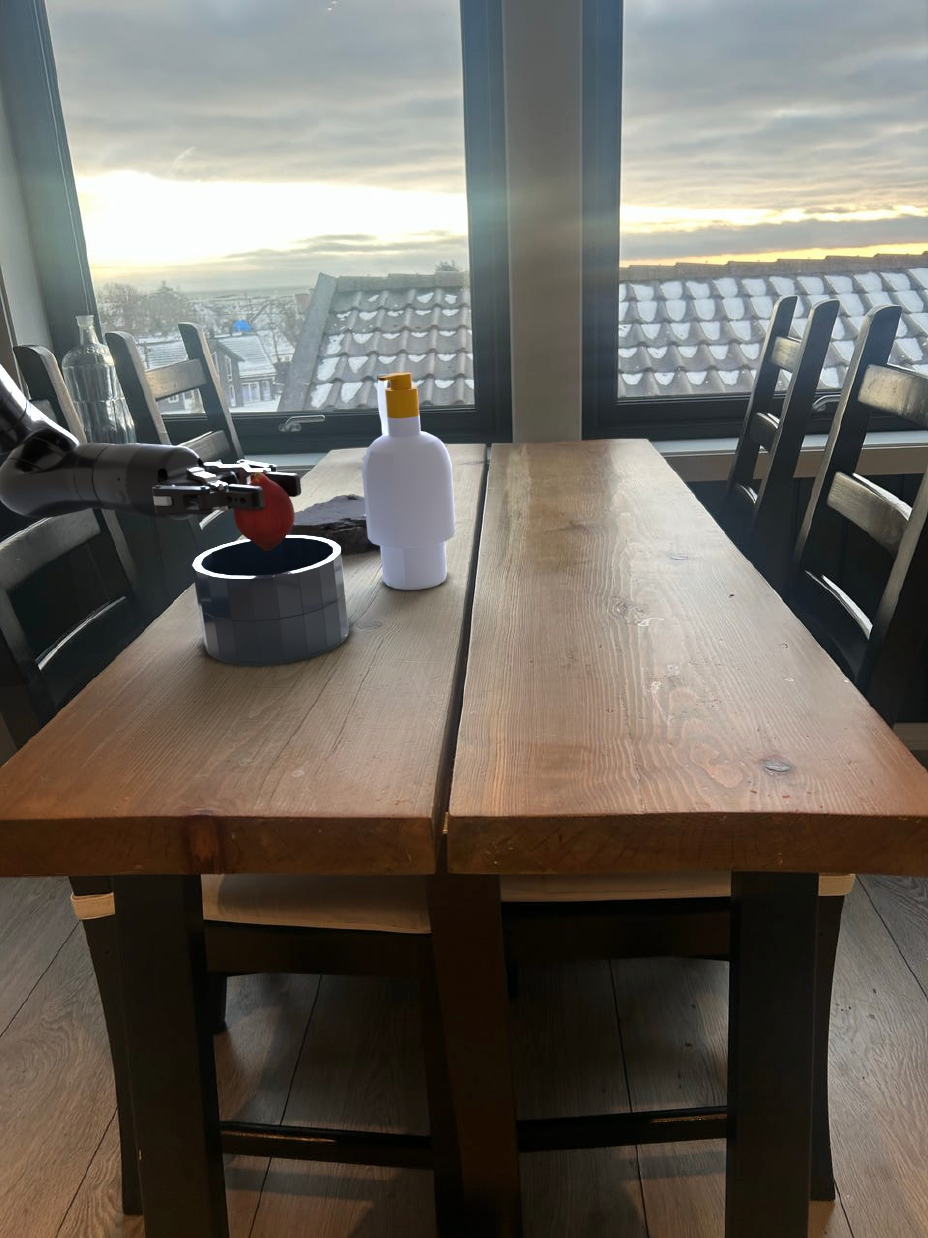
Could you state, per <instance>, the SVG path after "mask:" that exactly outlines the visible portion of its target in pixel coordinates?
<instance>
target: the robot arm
mask: <svg viewBox="0 0 928 1238" xmlns="http://www.w3.org/2000/svg"><path fill="white" fill-rule="evenodd" d="M9 452H11V453H10V454H9V455H8V457H7V458H6V459H5V461H4V462H3V463H2V465H0V502H1V503H2V504H3V505H4V506H6V508H8V509H9V510H11V511H12V512H15V513H16V514H18V515H22V516H25V517H29V518H33V519H50V518H56V517H61V516H65V515H70V514H75V513H78V512H83V511H86V510H90V509H97V510H106V511H107V510H108V511H116V512H120V513H123V514H126V515H131V516H138V517H147V518H148V517H149V518H157V519H167V520H176V521H182V520H187V519H189V518H191V517H192V516H194V515H204V516H209V515H210V514H213V513H214V511H221V512H226V511H229V510H231V509H232V510H234V509H242V510H252V511H259V510H262V509H264V507H265V501H264V493H263V489H262V488H261V487H258V486H247V485H248V484H249V483H251V482H252V479H253V477H252V476H251V475H252V474H253V473H254V472H261V473H262V474H264V475H265V476H266V477H267V478H268V479H270V480H271V481H273V482H275V483H277V484H278V485H279V486H280V487H282V488H283V489H284V490H285V491H286V493H287V494H288V495H289V497H290V498H296V497H299V496H301V495H302V484H301V478H300V475H299V474H297V473H290V472H278V465H277V464H273V463H265V462H260V461H253V460H247V459H239V460H237V461H235V463H236V464H235V463H234V464H223V463H221V462H219V461H216V462H215V461H213V462H212V461H211V462H204V461H203V460H202V458H201V457H200V456H199V454H197V453H196V451H194V450H193V449H191V448H189V447H187V446H184V445H183V446H182V445H169V444H155V443H154V444H153V443H152V444H151V443H141V442H140V443H139V442H131V443H130V442H129V443H120V444H119V443H104V442H85V443H81V442H80V440H79V439H78V438H77V437H76V436H75V435H74V434H72V433H71V432H69V431H68V430H67V429H65V428H63V427H62V426H60V425H59V424H58V423H56V422H54V421H53V420H52V419H50V418H49V417H48V416H47V415H45V413H43V412H42V411H41V410H39V409H38V408H37V407H35V405H34V404H32V403H31V402H30V401H29V400H28V398H27V397H26V396H25V395H24V393H23V392H22V390H21V389H20V388H19V386H18V385H17V384H16V382H15V381H14V379H12V377H11V376H10V374H9V373H8V372H7V370H6V369H5V368H4V367H3V365H1V364H0V454H6V453H9Z"/></svg>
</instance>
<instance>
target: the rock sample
mask: <svg viewBox="0 0 928 1238" xmlns="http://www.w3.org/2000/svg"><path fill="white" fill-rule="evenodd" d="M294 512H295V515H294V523H293V526H292V529H291V531H290V532H289V533H288V535H287V536H311V537H319V538H324V539H327V540H331V541H334V542H335V543H336V544H338V545H339V546H340V547H341V553H342V556H343V555H352V554H365V553H366V552H369V551H381V549H380V546H379V545H376V544H373V543H372V542H371V541H370V540H369V539H368V534H367V522H366V511H365V500H364V496H361V495H359V494H358V495H357V494H354V493H352V494H349V495H347V494H343V495H336V496H334V497H333V498H330V500H327V501H325V502H317V503H314V504H313V505H311V506H308V507H306V508H304V509H303V510H298V511H294Z"/></svg>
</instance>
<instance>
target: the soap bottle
mask: <svg viewBox="0 0 928 1238" xmlns="http://www.w3.org/2000/svg"><path fill="white" fill-rule="evenodd" d="M389 374H390V375H388V376H383V377H378V378H379V381H389V380H390V388H387V389H385V395H386V408H387V422H388V434H385V435H382V434H381V436H379V437H378V438H376V439H375V440H373V441H372V442H371V444H370V445H369V446H368V448H367V449H366V452H365V455H364V457H363V462H362V467H361V475H362V477H361V479H362V485H363V486H362V487H363V497H364V500H365V511H366V522H367V534H368V539H369V540H370V541H371V542H372V543H373V544H376V545H379V546H380V549H381V550H380V559H381V571H382V580H383V582H384V583H385V584H386V586H388V587H389V588H391V589H396V590H400V591H401V590H402V591H418V590H425V589H430V588H434V587H436V586H439V585H441V584H443V583H444V582H445V581H446V579H447V574H448V568H447V567H448V566H447V552H446V551H447V550H446V542H447V541H449V540H450V539H452V538H454V537H455V534H456V531H457V528H456V526H457V525H456V510H455V494H454V477H453V476H454V475H453V463H452V459H451V456H450V453H449V451H448V449H447V447H446V446H445V444H444V442H443V441H442V440H441V439H440V438H438V437H437V436H435V435H433V434H430V433H429V432H426V431H421V430H422V429H421V417H420V404H419V403H420V402H419V388H418V387H417V386H413V380H412V372H392V373H389Z"/></svg>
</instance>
